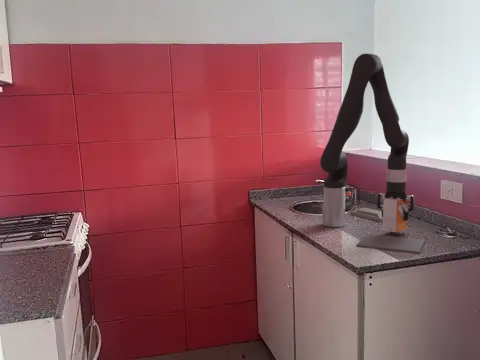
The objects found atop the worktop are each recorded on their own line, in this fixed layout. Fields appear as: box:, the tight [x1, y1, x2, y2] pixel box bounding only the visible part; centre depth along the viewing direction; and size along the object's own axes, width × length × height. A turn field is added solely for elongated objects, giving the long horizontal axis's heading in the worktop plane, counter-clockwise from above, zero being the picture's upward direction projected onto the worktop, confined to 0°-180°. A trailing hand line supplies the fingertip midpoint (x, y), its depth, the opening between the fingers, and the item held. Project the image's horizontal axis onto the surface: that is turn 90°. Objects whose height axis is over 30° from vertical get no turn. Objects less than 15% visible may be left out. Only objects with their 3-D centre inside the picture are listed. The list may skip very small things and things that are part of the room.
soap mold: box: [349, 207, 383, 223], centre depth 213 cm, size 10×20×4 cm, turn 29°
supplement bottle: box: [345, 186, 352, 211], centre depth 232 cm, size 6×6×11 cm
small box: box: [382, 197, 409, 233], centre depth 182 cm, size 8×6×13 cm
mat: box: [356, 233, 426, 254], centre depth 170 cm, size 22×16×1 cm
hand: (395, 219), depth 183 cm, fingers closed on small box, 8 cm apart
